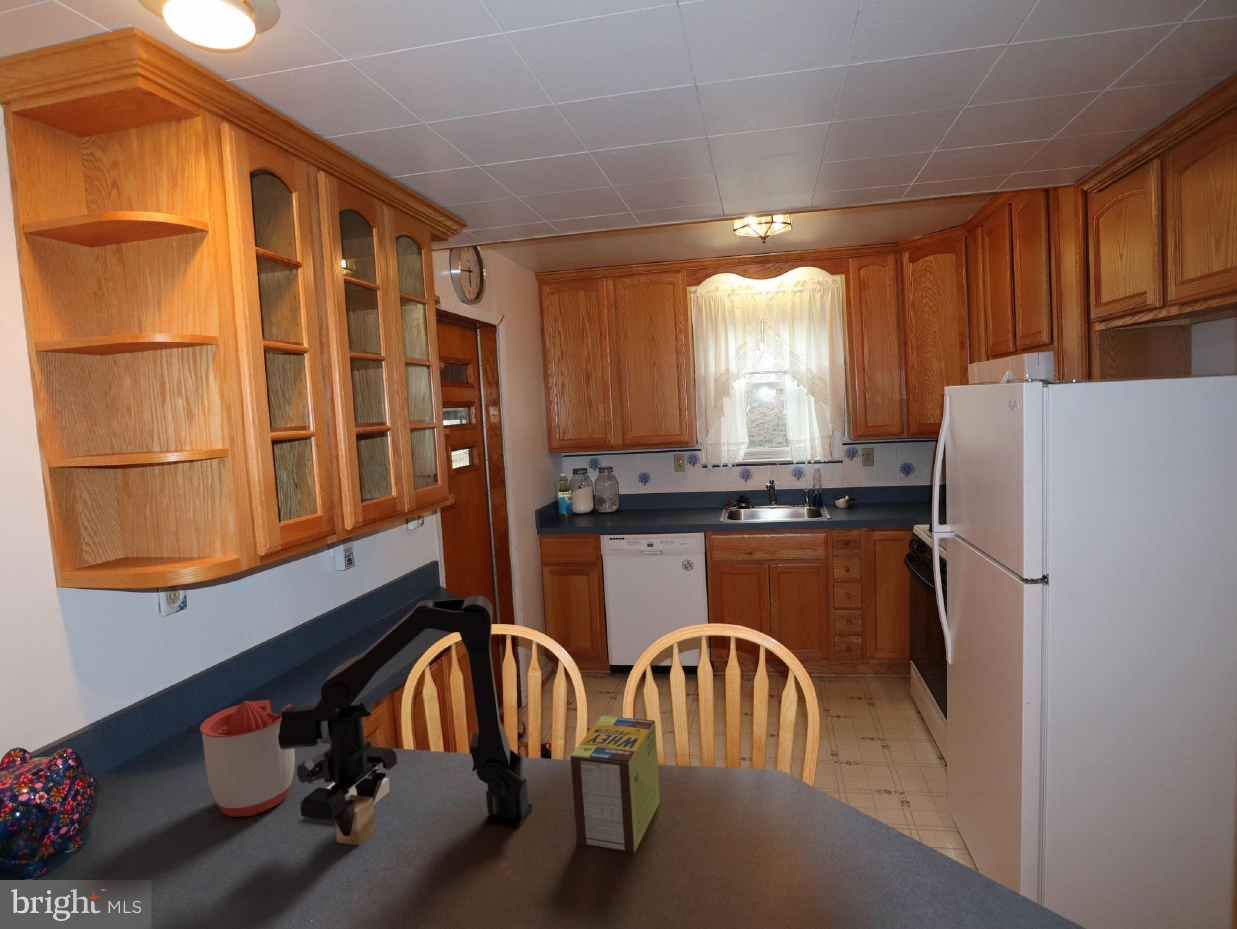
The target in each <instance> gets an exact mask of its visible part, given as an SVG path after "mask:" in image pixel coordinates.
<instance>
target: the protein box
mask: <svg viewBox="0 0 1237 929" xmlns="http://www.w3.org/2000/svg"><path fill="white" fill-rule="evenodd" d="M656 727H657V726H656V720H654V719H653V720H651V719H641V718H640V719H639V718H629V717H621V716H620V717H619V716H611V715H600V717H599V718H598V720H597V721H596V722H595V724H594V725H593V726H592V728H591V729H590V730H589V731H588V732H587V734H586V735H585V737H583V739H582V740H581V741H580V742H579V744H578V745H577V746H576V748H575V749H574V750H573V751H572V753H571V754H570V755H569V757H570V769H571V781H572V794H573V810H574V824H575V835H576V844H577V845H580V846H586V847H587V846H588V847H592V848H593V847H594V848H600V849H606V850H613V851H619V852H624V853H630V854H631V853H632V854H635V853H636V851H637V849H638V847H639V845H640V843H641V841H642V839H643V837H644V835H645V833H646V831H647V830H648V827H649V825H650V823H651V821H652V819H653V817H654V815H655V813H656V811H657V809H658V807H659V806H660V805H659V804H661V801H660V797H661V796H660V784H659V781H660V780H659V779H660V778H659V765H658V764H659V763H658V747H657V733H656Z"/></svg>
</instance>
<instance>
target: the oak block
mask: <svg viewBox="0 0 1237 929" xmlns="http://www.w3.org/2000/svg"><path fill="white" fill-rule="evenodd" d="M349 800H355V801H356V803H355V809H354V816H353V822H352V828H351V833H350V835H349V836H344V835H343V834H342V832H341V830H340V829H339V827H338V825H337V823H336V821H335V820H334V824H335V835H336V843H340V844H341V843H342V844H348V845H349V844H350V845H355V846H360V845H362V844H363V842H364V841H365V840H366V839H368V838H369V837H370V836H371V834H373V833H374V832H375V831H376V829H377V828H376V820H375V818H376V817H375V809H374V808H375V807H374V805H373V797H367V796H359V795H350V796H349Z"/></svg>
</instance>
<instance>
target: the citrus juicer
mask: <svg viewBox="0 0 1237 929" xmlns="http://www.w3.org/2000/svg"><path fill="white" fill-rule="evenodd" d="M286 707H293V706H292V704H291V703H288V704H287V705H285V706H284V707H283V708H281V712H282V711H283V710H284V709H285V708H286ZM281 719H282V716H281V713H280V714H276V713H272V709H271V701H270V699H268V700H267V699H266V700H264V699H262V700H256V701H255V700H254V701H249V700H244V701H243V702H241V704H237V705H234V706H231V707H228V708H225V709H223V710H220V711H219V712H216V713H214V714H212V715H211V716H210V717H208V718H206V719H204V721H202V723H201V724H200V728H199V731H200V733H201V736H202V737H201V738H202V745H203V753H204V763H205V770H206V771H205V772H206V776H207V781H208V785H209V787H210V790H211V794H212V795H213V797H214V800H215V803H216V805H217V806H218V809H220V811H221V812H222V813H223V814H224V815H226V816H228V817H237V818H239V817H240V818H241V817H253V816H255V815H257V814H259V813H262V812H263V813H264V812H265V811H268V810H270V809H272V808H274V807H275V806H277V805H279V804H280V803H282V802H283V801H284V800H285V799H286V798H287V796H289V792H290V790H291V786H292V784H293V778H294V777H293V776H294V772H295V764H296V757H295V756H296V754H295V748H294V749H286V750H282V749H281V748H280V746H279V741H278V735H279V729H280V723H281Z"/></svg>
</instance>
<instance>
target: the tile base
mask: <svg viewBox="0 0 1237 929" xmlns="http://www.w3.org/2000/svg"><path fill="white" fill-rule="evenodd" d="M334 784H335V783H334V782H333V783H332V782H331V784H330V785H328V786H327V787H326V788H327V789H331V787H332V786H333V785H334ZM390 791H391V789H390V778H388V777H385V778H384V779H383V782H382V784H381V786H380V789H379V791H378V793H377V796H376V798H375V801H374V804H373V806H375V805H376V804H377V802H379V801H380V800H381V799H383V797H385V796H386V795H387V794H388V793H389V792H390ZM350 795H357V792H356V788H355V787H353V788H352V789H350V790H349V796H350Z"/></svg>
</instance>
